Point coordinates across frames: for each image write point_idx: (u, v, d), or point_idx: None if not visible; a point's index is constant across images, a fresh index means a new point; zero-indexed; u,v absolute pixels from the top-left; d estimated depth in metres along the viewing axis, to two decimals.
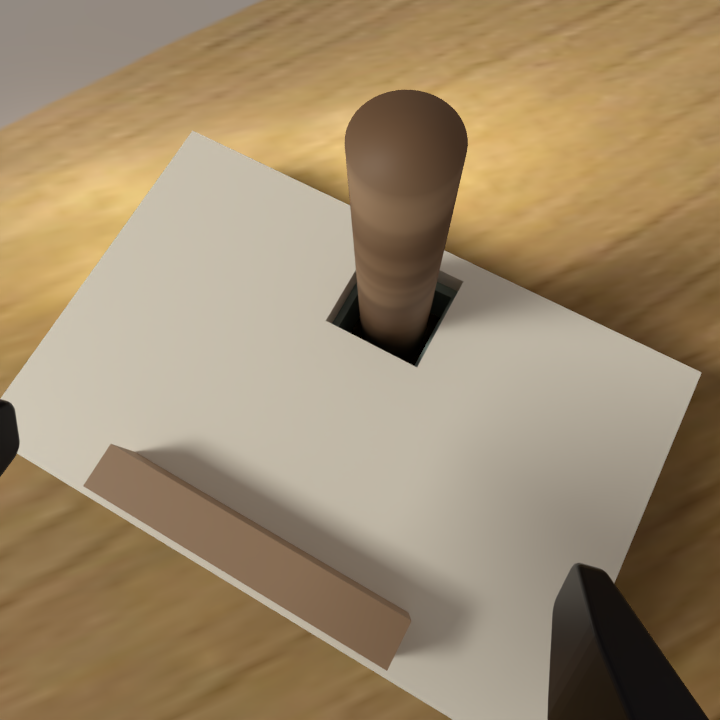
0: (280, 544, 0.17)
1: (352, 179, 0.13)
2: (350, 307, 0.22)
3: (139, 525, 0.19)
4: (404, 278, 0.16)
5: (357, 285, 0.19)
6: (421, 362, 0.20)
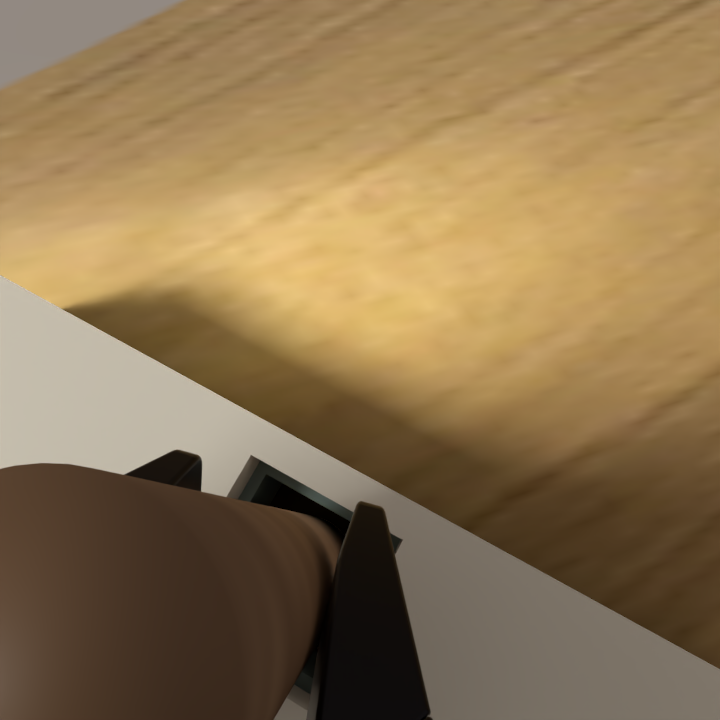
0: None
1: None
2: None
3: None
4: None
5: None
6: None
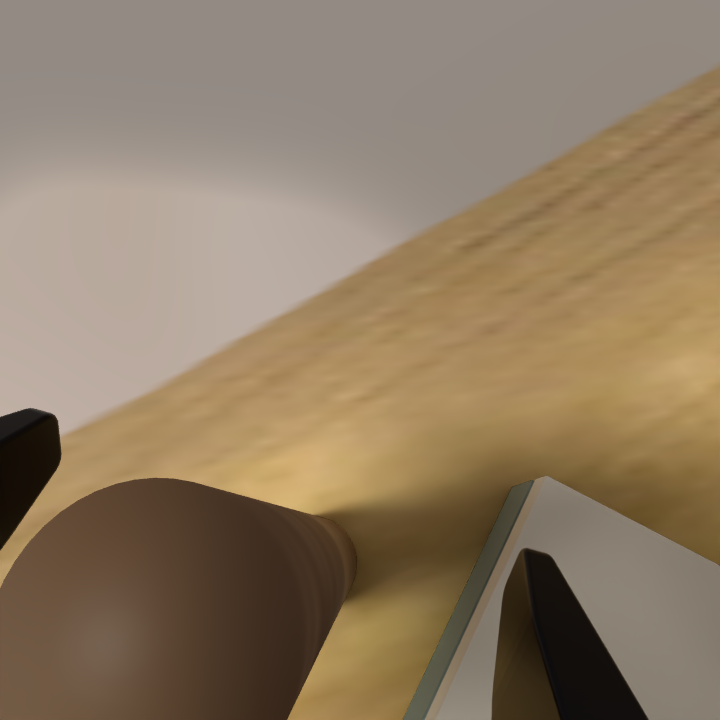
0: None
1: None
2: None
3: None
4: None
5: None
6: None
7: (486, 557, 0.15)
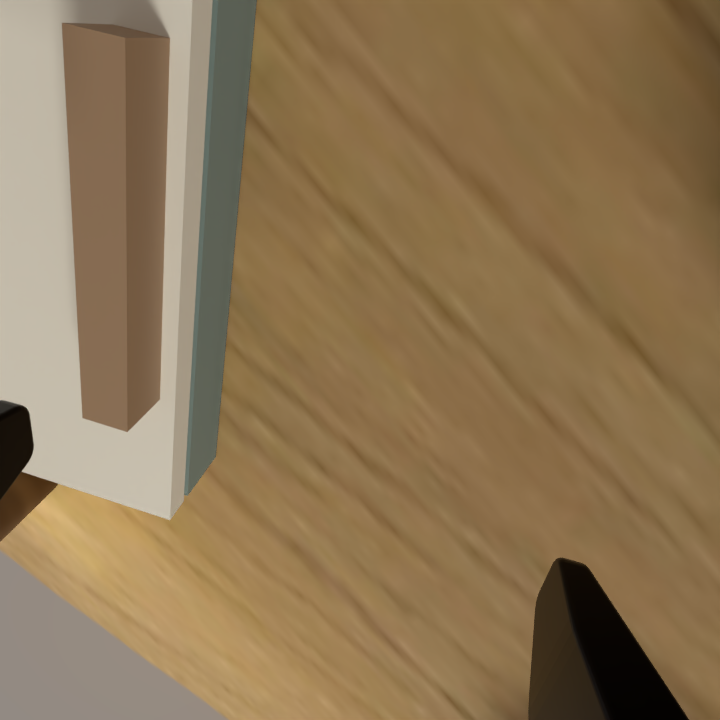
0: (73, 219, 0.14)
1: None
2: None
3: (174, 363, 0.18)
4: None
5: None
6: None
7: None
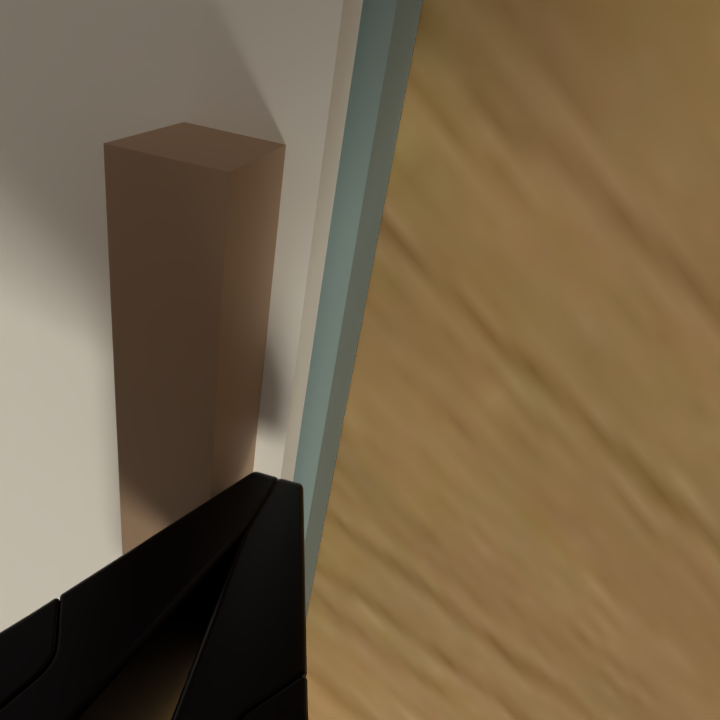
0: (120, 448, 0.08)
1: None
2: None
3: None
4: None
5: None
6: None
7: None
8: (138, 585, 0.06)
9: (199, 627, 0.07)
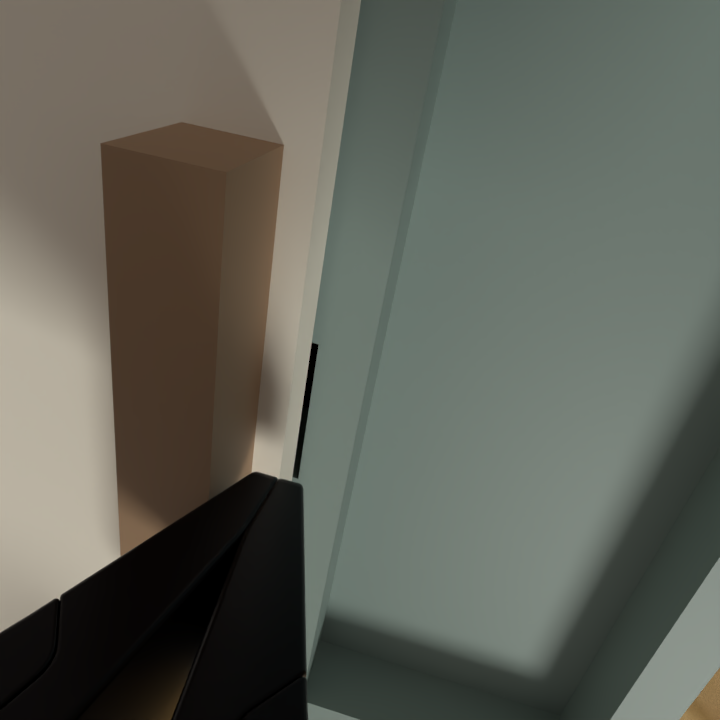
0: (118, 449, 0.08)
1: None
2: None
3: None
4: None
5: None
6: None
7: None
8: (138, 585, 0.06)
9: (199, 627, 0.07)
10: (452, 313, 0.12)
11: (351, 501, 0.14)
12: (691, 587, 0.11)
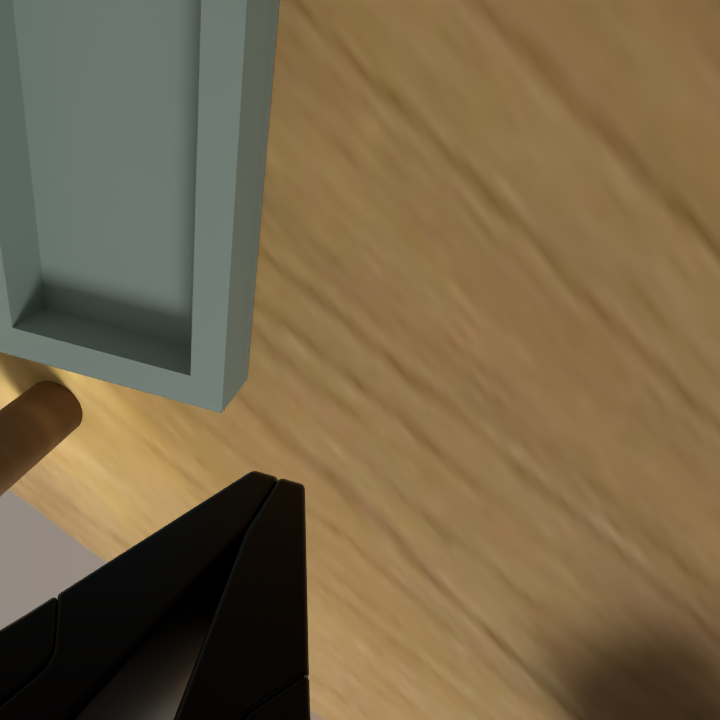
0: None
1: None
2: None
3: None
4: None
5: None
6: None
7: None
8: (136, 584, 0.06)
9: (197, 626, 0.07)
10: None
11: (31, 166, 0.20)
12: (199, 164, 0.17)
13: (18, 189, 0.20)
